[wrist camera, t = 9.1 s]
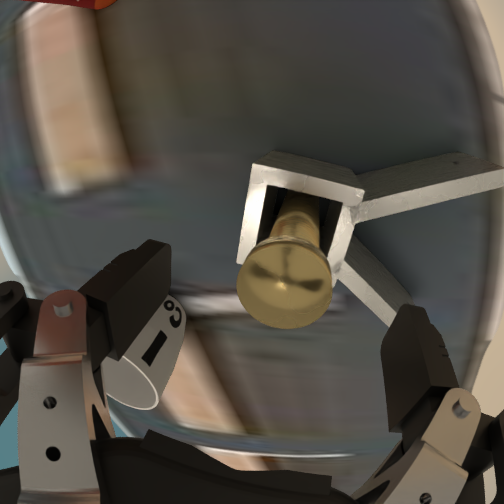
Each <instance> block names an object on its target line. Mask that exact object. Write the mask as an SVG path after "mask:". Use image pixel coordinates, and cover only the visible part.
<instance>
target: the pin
mask: <svg viewBox="0 0 504 504" xmlns="http://www.w3.org/2000/svg"><path fill="white" fill-rule="evenodd" d="M236 285H237V293H238V297H239V300H240V302H241V303H242V305H243V307H244V308H245V309H246V311H247V312H248V313H249V314H250V315H251V316H253V317H254V318H255V319H257V320H258V321H260V322H262V323H264V324H266V325H268V326H272V327H276V328H282V329H293V328H299V327H303V326H306V325H309V324H311V323H313V322H314V321H316V320H317V319H318V318H320V317H321V316H322V315H323V314H324V313H325V311H326V310H327V308H328V306H329V304H330V302H331V299H332V272H331V267H330V264H329V261H328V259H327V258H326V256H325V255H324V253H323V252H322V251H321V250H320V249H319V196H316V195H312V194H308V193H304V192H299V191H295V190H291V189H288V191H287V194H286V196H285V199H284V201H283V204H282V206H281V209H280V211H279V214H278V216H277V218H276V221H275V223H274V226H273V228H272V231H271V233H270V236H269V238H268V239H265V240H263V241H261V242H260V243H258V244H257V245H256V246H255V247H254V248H253V249H252V250H251V251H250V252H249V254H248V255H247V257H246V259H245V261H244V263H243V265H242V267H241V269H240V271H239V274H238V277H237V284H236Z"/></svg>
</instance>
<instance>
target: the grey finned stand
mask: <svg viewBox="0 0 504 504" xmlns="http://www.w3.org/2000/svg"><path fill="white" fill-rule="evenodd" d="M503 186H504V167H502V166H499V165H496V164H494V163H491V162H488V161H485V160H482V159H480V158H477V157H474V156H471V155H468V154H465V153H461V152H453V153H449V154H444V155H439V156H435V157H430V158H426V159H421V160H417V161H412V162H408V163H404V164H399V165H395V166H391V167H387V168H383V169H379V170H375V171H371V172H367V173H363V174H359V175H355V174H354V173H353V171H352V169H350V168H347V167H343V166H339V165H335V164H332V163H328V162H324V161H320V160H316V159H311V158H307V157H303V156H299V155H294V154H290V153H285V152H280V151H276V150H272V151H271V152H269V153H268V154H266V155H265V156H263V157H262V158H260V159H259V160H257V161H256V162H254V163H253V165H252V171H251V177H250V183H249V189H248V195H247V201H246V207H245V213H244V219H243V225H242V231H241V237H240V243H239V249H238V256H237V262H236V263H239V264H243V263H244V261H245V259H246V257H247V255H248V254H249V252H250V251H251V250H252V249H253V248H254V247H255V246H256V245H257V244H258V243H260V242H261V241H263V240H265V239H268V238H269V236H270V233H271V231H272V228H273V226H274V223H275V221H276V218H277V216H278V215H273V212H274V207H275V202H276V197H277V192H278V187H282V188H287V189H291V190H295V191H299V192H304V193H308V194H312V195H316V196H320V197H324V198H328V199H331V200H330V204H329V208H328V212H327V215H326V219H325V223H324V226H323V227H322V226H319V249H320V250H321V251H322V252H323V253H324V255H325V256H326V258H327V259H328V261H329V264H330V267H331V272H332V287H334V286H335V283H336V281H337V278H338V279H339V280H340V281H341V282H342V283H343V284H344V285H346V286H347V287H348V288H349V289H350V290H351V291H352V292H353V293H354V294H355V295H356V296H357V297H358V298H359V299H360V300H361V301H362V302H363V303H365V304H366V305H367V306H368V307H369V308H370V309H371V310H372V311H373V312H374V313H375V314H376V315H377V316H378V317H379V318H380V319H381V320H382V321H383V322H384V323H385V324H386V325H387V326H388V327H390V325H391V324H392V322H393V320H394V318H395V316H396V314H397V312H398V310H399V308H400V307H401V306H402V305H403V304H404V303H406V304H410V305H414V306H415V304H414V302H413V299H412V297H411V295H410V294H409V293H408V292H407V291H406V290H405V289H404V288H403V286H402V285H401V284H400V283H399V282H398V281H397V280H396V279H395V278H394V276H393V275H392V274H391V273H390V272H389V271H388V270H387V269H386V268H385V267H384V266H383V265H382V264H381V262H380V261H379V260H378V259H377V258H376V257H375V256H374V255H373V254H372V253H371V252H370V251H369V250H368V249H367V248H366V247H365V246H364V245H363V244H362V243H361V242H360V241H359V240H358V239H357V238H356V237H355V236H354V235H353V234H352V232H353V229H354V226H355V223H359V222H363V221H367V220H371V219H375V218H379V217H383V216H387V215H391V214H395V213H399V212H403V211H407V210H411V209H415V208H419V207H423V206H427V205H431V204H435V203H439V202H443V201H447V200H451V199H455V198H459V197H463V196H467V195H471V194H475V193H479V192H483V191H487V190H491V189H495V188H499V187H503Z"/></svg>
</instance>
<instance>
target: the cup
mask: <svg viewBox="0 0 504 504" xmlns="http://www.w3.org/2000/svg"><path fill="white" fill-rule="evenodd" d="M185 325H186V314H185V311H184V309H183V307H182V306H181V304H180V303H179V302H178V301H177V300H176V299H174V298H173V297H172V296H170V295H168V296H167V298H166V299H165V301H164V302H163V303H162V304H161V306H160V307H159V308H158V310H157V311H156V312H155V314H154V315H153V316H152V318H151V319H150V320H149V322H148V323H147V324H146V325H145V327H144V328H143V329H142V331H141V332H140V333H139V335H138V336H137V337H136V339H135V340H134V341H133V343H132V344H131V346H130V347H129V348H128V350H127V351H126V352H125V354H124V355H123V356H122V358H121V359H120V360H119V362H118V361H116V360H114V359H111V358H109V357H107V356H106V358H105V359H104V360H103V362H102V366H103V373H104V381H105V389H106V394H108V395H109V396H110V397H112V398H113V399H115V400H117V401H119V402H120V403H122V404H125V405H127V406H130V407H133V408H136V409H142V410H148V409H152V408H154V407H156V405H157V404H158V402H159V400H160V397H161V395H162V393H163V391H164V389H165V387H166V385H167V382H168V380H169V378H170V376H171V374H172V372H173V370H174V367H175V364H176V361H177V358H178V355H179V352H180V349H181V346H182V343H183V339H184V332H185Z"/></svg>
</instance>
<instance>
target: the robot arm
mask: <svg viewBox="0 0 504 504" xmlns="http://www.w3.org/2000/svg"><path fill="white" fill-rule="evenodd" d="M170 286H171V246H170V245H169V244H167V243H163V242H159V241H155V240H152V239H149V240H147V241H146V242H144V243H143V244H142V245H141V246H140V247H138V248H137V249H136V250H135V249H132V250H129V251H127V252H124V253H122V254H120V255H118V256H117V257H116V258H115V259H114V260H112V261H111V263H109V264H108V265H106V266H105V267H104V268H103V270H101V271H99V272H98V273H97V274H96V275H95V276H94V277H92V278H91V279H90V280H89V281H88V282H87V283H85V284H84V285H83V286H82V287H81V288H80V289H79V290H78V291H74V290H61V291H57V292H54V293H52V294H50V295H49V296H47V297H46V298H45V299H44V301H43V300H37V299H31V298H27V297H26V294H25V290H24V287H23V285H22V284H21V283H19V282H16V281H7V282H3V283H1V284H0V339H1V338H2V337H3V339H4V341H5V343H6V345H7V347H8V348H7V349H6V350H5V351H4V352H3V353H2V355H0V425H1V424H2V422H3V421H4V420H5V418H6V417H7V415H8V414H9V412H10V411H11V409H12V408H13V407H14V405H15V404H16V402H17V401H18V457H19V466H15V467H11V468H7V469H2V470H0V504H485V491H484V479H483V473H484V472H485V471H486V470H488V469H489V468H491V467H492V466H493V465H494V468H495V477H496V486H497V493H496V496H495V498H494V500H493V501H492V502H491V503H490V504H504V410H503V411H502V412H501V413H500V414H499V415H498V416H497V417H496V418H494V417H492V416H489V415H486V414H484V413H481V409H480V406H479V403H478V402H477V400H476V398H475V397H474V396H473V395H472V394H471V393H470V392H468V391H466V390H464V389H461V388H459V385H458V382H457V378H456V375H455V372H454V369H453V366H452V363H451V360H450V358H448V356H449V355H448V352H447V349H446V348H445V344H444V341H443V338H442V336H441V334H440V333H439V332H438V330H437V329H436V328H435V327H434V325H433V324H431V323H430V321H429V318H428V315H427V313H426V310H425V309H424V308H423V307H419V306H414V305H410V304H406V303H404V304H403V305H402V306H401V307H400V308H399V310H398V312H397V314H396V316H395V318H394V320H393V322H392V324H391V325H390V327H389V329H388V331H387V333H386V335H385V336H384V339H383V341H382V345H381V361H382V368H383V376H384V384H385V393H386V403H387V414H388V426H389V432H396V433H402V439H401V440H400V441H399V442H398V443H397V444H396V445H395V447H394V448H393V449H392V451H391V452H390V453H389V455H388V456H387V457H386V459H385V460H384V461H383V462H382V464H381V465H380V466H379V467H378V469H377V470H376V471H375V472H374V473H373V475H372V476H371V477H370V478H369V479H368V480H367V481H366V482H365V483H364V484H363V485H362V486H361V487H360V488H359V489H358V490H356V491H355V492H354V493H353V494H352V495H351V496H348V495H347V494H345V493H343V492H341V491H339V490H337V489H335V488H332V487H331V480H332V476H327V475H318V474H310V473H303V472H297V471H291V470H275V471H241V470H236V469H233V468H231V467H229V466H227V465H225V464H223V463H221V462H219V461H218V460H216V459H214V458H212V457H210V456H209V455H207V454H205V453H204V452H202V451H200V450H198V449H197V448H195V447H193V446H192V445H189V444H186V443H183V442H180V441H178V440H175V439H172V438H170V437H167V436H164V435H162V434H159V433H157V432H154V431H152V430H150V429H148V431H147V433H146V435H145V437H144V439H142V438H134V437H116V435H115V431H114V428H113V425H112V422H111V418H110V414H109V409H108V402H107V396H106V389H105V381H104V373H103V366H102V362H103V360H104V359H105V358H106V356H107V357H109V358H111V359H114V360H116V361H118V362H119V360H120V359H121V358H122V356H123V355H124V354H125V352H126V351H127V350H128V348H129V347H130V346H131V344H132V343H133V341H134V340H135V339H136V337H137V336H138V335H139V333H140V332H141V331H142V329H143V328H144V327H145V325H146V324H147V323H148V322H149V320H150V319H151V318H152V316H153V315H154V314H155V312H156V311H157V310H158V308H159V307H160V306H161V304H162V303H163V302H164V301H165V299H166V298H167V296H168V293H169V290H170ZM18 399H19V400H18Z"/></svg>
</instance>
